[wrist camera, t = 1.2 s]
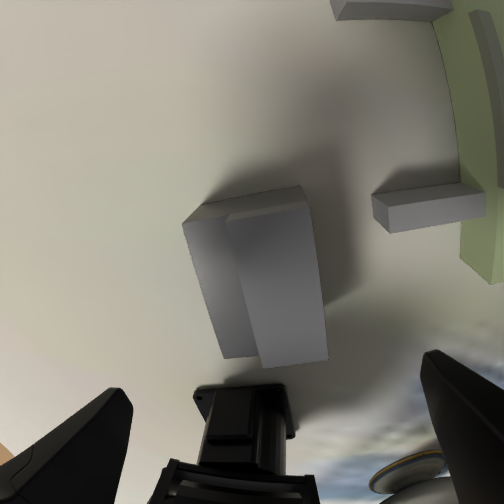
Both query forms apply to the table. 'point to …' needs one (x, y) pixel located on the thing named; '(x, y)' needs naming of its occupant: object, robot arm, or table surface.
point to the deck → (457, 126)
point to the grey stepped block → (260, 276)
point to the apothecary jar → (415, 481)
